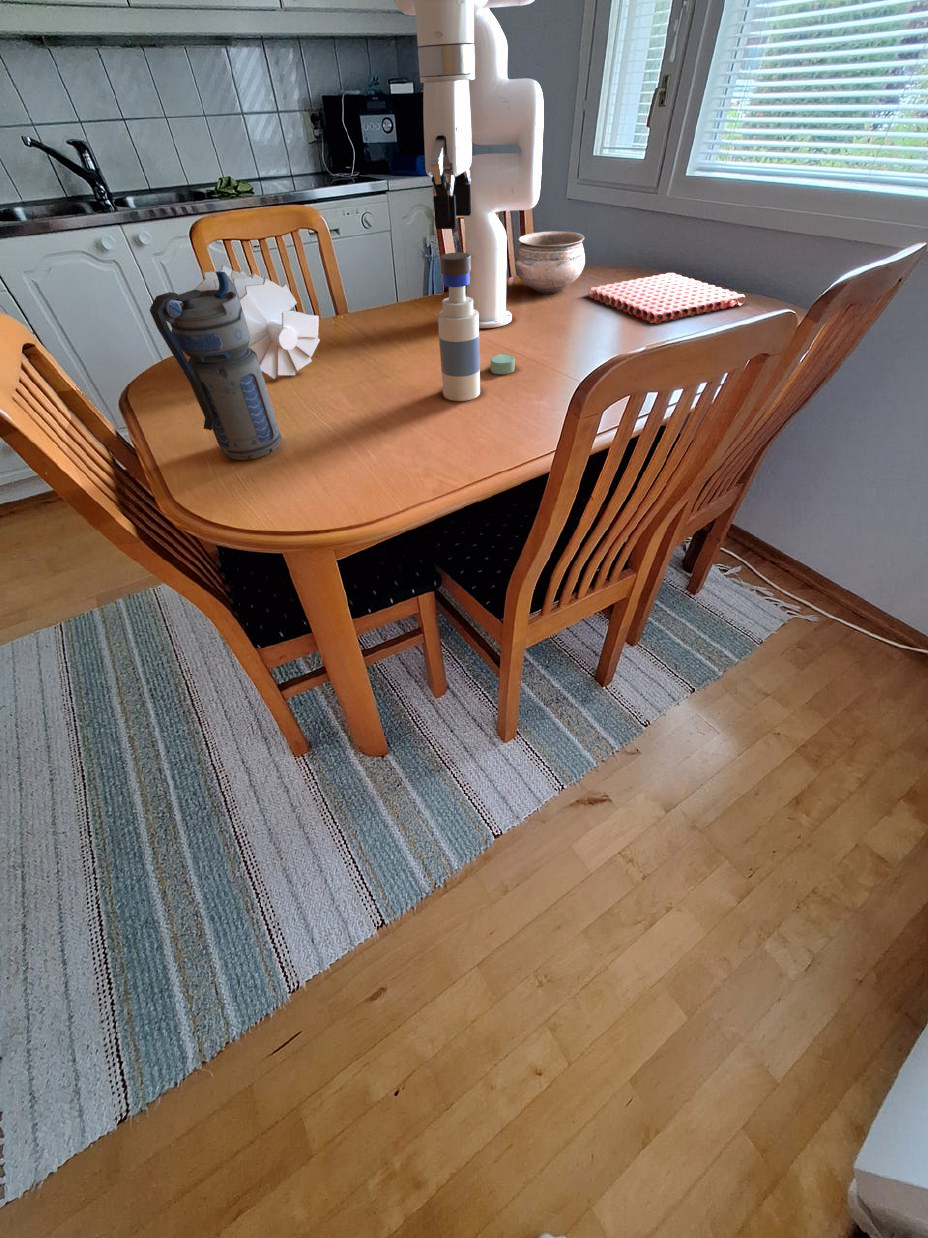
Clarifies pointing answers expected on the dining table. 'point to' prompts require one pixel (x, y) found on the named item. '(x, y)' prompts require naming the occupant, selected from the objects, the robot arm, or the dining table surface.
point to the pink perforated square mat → (665, 297)
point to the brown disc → (455, 263)
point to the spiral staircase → (271, 322)
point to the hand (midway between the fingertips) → (454, 221)
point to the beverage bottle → (220, 366)
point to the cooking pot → (550, 260)
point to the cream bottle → (459, 341)
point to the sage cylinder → (502, 364)
